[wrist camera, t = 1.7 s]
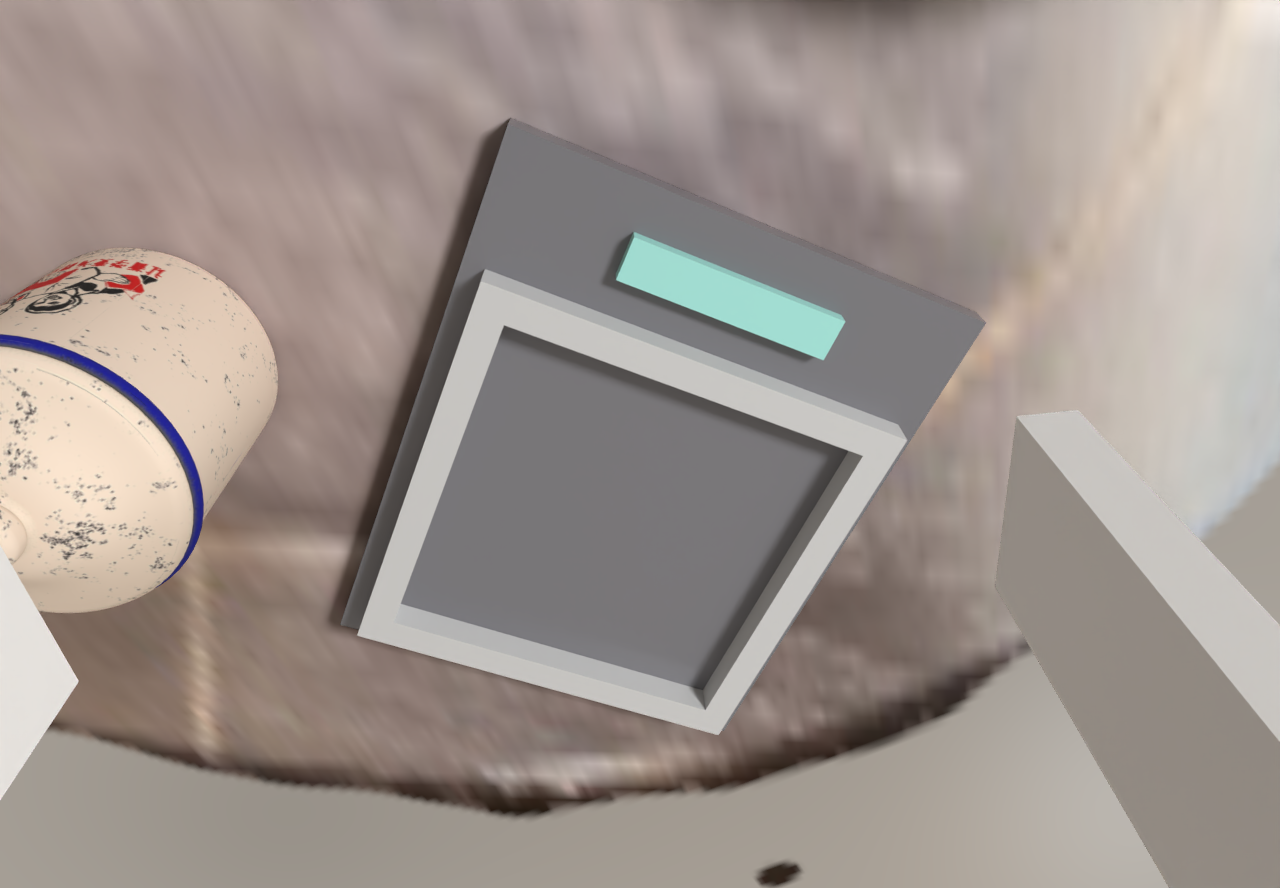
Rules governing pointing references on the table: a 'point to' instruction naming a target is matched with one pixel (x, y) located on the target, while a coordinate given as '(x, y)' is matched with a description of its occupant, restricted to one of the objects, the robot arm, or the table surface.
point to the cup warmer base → (640, 437)
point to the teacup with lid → (121, 421)
